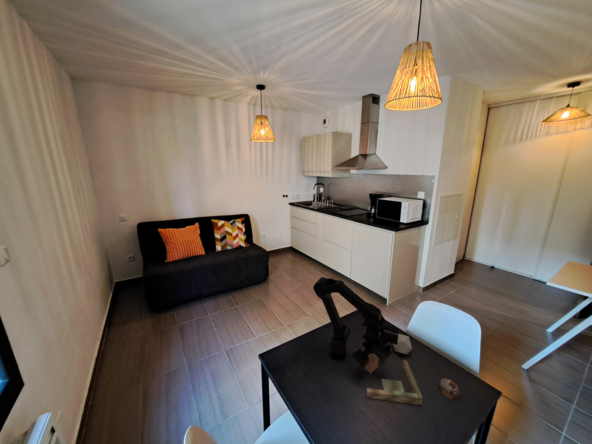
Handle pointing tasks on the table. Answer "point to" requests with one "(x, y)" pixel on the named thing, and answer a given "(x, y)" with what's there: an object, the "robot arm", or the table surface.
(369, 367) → the cube
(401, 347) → the die
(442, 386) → the pastry
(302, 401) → the table surface
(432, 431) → the table surface
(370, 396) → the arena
